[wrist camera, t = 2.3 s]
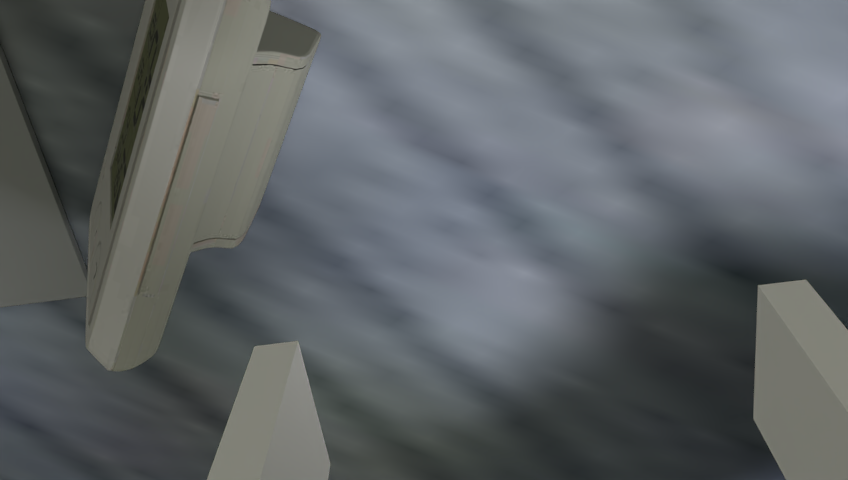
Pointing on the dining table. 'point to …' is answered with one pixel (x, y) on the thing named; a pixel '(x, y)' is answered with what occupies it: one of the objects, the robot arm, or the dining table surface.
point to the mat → (31, 214)
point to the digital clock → (185, 157)
